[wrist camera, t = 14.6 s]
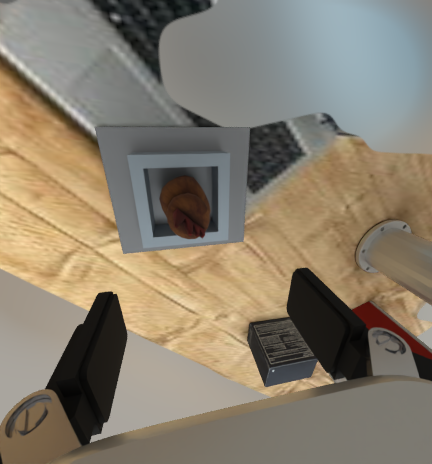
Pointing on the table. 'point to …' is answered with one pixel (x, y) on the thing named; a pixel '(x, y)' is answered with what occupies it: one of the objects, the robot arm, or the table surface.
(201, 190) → the wooden figurine
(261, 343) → the small box
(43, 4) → the table surface
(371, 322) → the red striped mailbox
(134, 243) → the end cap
